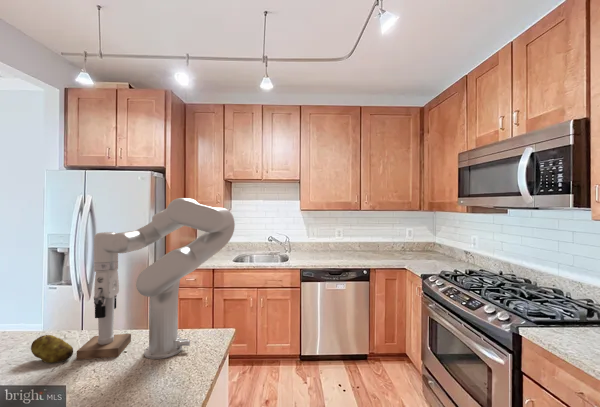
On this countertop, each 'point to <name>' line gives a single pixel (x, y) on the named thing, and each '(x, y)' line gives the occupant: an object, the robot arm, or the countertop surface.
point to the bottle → (106, 323)
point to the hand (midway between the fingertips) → (106, 313)
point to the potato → (51, 349)
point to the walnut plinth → (103, 347)
